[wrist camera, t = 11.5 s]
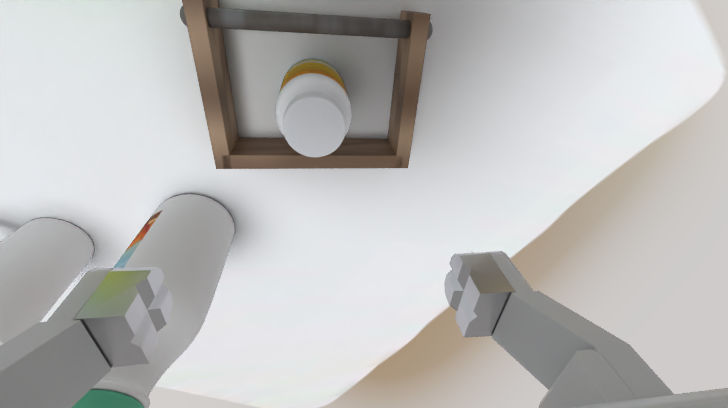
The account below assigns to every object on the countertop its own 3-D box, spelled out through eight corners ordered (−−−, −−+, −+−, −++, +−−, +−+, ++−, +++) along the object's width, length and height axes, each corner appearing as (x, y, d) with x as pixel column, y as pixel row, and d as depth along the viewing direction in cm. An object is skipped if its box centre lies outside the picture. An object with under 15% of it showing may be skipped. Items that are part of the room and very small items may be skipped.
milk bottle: (195, 177, 31) (59, 385, 14) (251, 228, 35) (196, 437, 18) (138, 217, 33) (-44, 447, 16) (198, 261, 37) (103, 483, 20)
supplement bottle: (273, 66, 27) (256, 96, 19) (336, 51, 27) (346, 74, 19) (293, 127, 30) (286, 175, 22) (350, 113, 30) (364, 157, 22)
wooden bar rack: (191, -4, 24) (171, -4, 20) (422, 12, 26) (438, 14, 23) (220, 149, 30) (208, 168, 27) (403, 150, 32) (414, 167, 29)
